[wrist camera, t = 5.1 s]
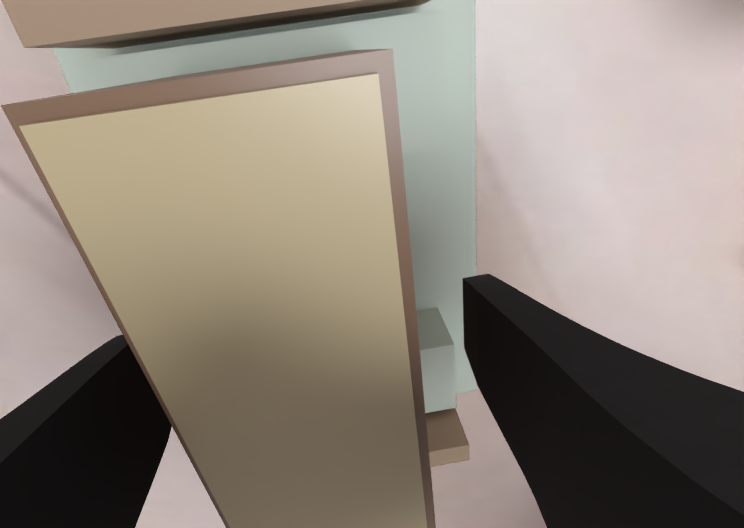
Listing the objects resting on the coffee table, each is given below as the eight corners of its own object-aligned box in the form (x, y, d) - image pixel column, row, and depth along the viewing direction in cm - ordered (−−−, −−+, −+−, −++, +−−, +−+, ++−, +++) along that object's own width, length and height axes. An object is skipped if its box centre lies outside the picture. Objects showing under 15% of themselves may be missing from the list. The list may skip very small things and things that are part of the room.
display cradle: (470, 377, 18) (510, 464, 14) (228, 419, 18) (203, 521, 14) (465, -66, 11) (546, -132, 7) (44, -9, 10) (-122, -45, 6)
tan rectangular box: (400, 398, 14) (441, 586, 9) (287, 418, 14) (269, 620, 9) (355, 49, 9) (396, 48, 4) (175, 75, 9) (-15, 107, 4)
